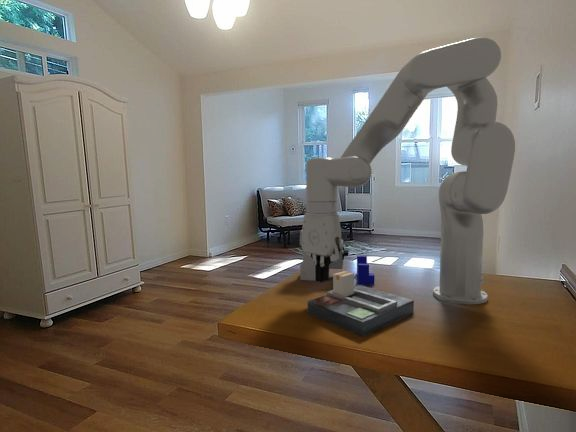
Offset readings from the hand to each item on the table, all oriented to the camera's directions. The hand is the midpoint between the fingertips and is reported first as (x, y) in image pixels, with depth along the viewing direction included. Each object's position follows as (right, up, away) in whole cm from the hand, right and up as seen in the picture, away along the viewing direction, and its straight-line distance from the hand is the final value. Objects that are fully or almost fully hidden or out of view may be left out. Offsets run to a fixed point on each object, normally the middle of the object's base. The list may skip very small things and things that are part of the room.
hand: (322, 280), depth 92 cm
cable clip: (+15, -3, +18) cm, 24 cm away
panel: (+8, -6, -9) cm, 13 cm away
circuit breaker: (+3, -3, +21) cm, 21 cm away
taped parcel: (+5, -2, -5) cm, 7 cm away
